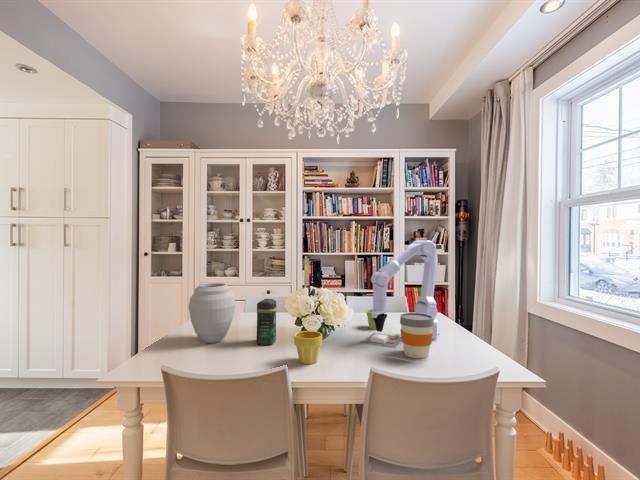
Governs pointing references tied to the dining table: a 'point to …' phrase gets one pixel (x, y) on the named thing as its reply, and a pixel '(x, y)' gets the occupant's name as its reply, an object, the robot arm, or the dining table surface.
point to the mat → (368, 341)
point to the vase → (211, 311)
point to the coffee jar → (266, 322)
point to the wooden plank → (393, 339)
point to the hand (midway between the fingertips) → (379, 331)
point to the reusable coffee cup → (416, 334)
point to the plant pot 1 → (308, 346)
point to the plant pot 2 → (370, 320)
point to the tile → (379, 338)
